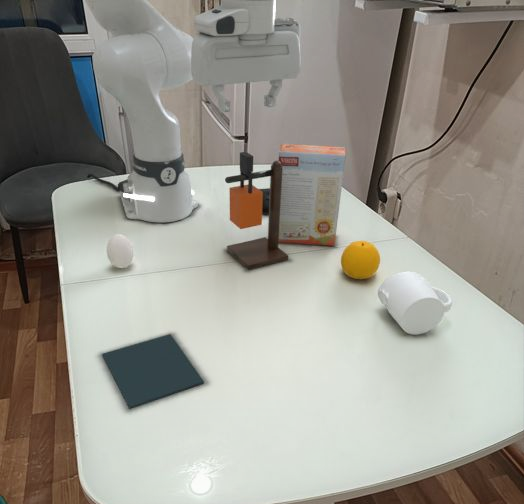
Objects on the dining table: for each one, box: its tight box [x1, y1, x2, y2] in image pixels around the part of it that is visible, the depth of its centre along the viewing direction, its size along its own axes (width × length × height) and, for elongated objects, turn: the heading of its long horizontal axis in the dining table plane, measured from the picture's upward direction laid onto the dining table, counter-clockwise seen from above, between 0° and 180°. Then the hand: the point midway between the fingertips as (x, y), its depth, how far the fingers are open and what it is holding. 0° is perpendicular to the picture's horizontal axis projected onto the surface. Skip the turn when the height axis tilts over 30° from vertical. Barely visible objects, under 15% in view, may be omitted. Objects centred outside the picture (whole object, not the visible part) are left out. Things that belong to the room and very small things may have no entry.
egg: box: [106, 233, 135, 269], centre depth 105 cm, size 5×5×7 cm
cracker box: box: [278, 143, 346, 247], centre depth 114 cm, size 14×6×21 cm, turn 84°
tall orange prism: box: [229, 151, 263, 230], centre depth 103 cm, size 5×5×14 cm
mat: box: [101, 333, 205, 409], centre depth 82 cm, size 14×12×1 cm
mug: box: [377, 271, 453, 336], centre depth 93 cm, size 12×9×8 cm
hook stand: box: [224, 160, 289, 271], centre depth 107 cm, size 10×13×20 cm
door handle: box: [258, 187, 270, 216], centre depth 134 cm, size 3×20×16 cm
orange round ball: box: [340, 240, 381, 280], centre depth 106 cm, size 8×8×8 cm
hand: (247, 108), depth 93 cm, fingers open, 8 cm apart
